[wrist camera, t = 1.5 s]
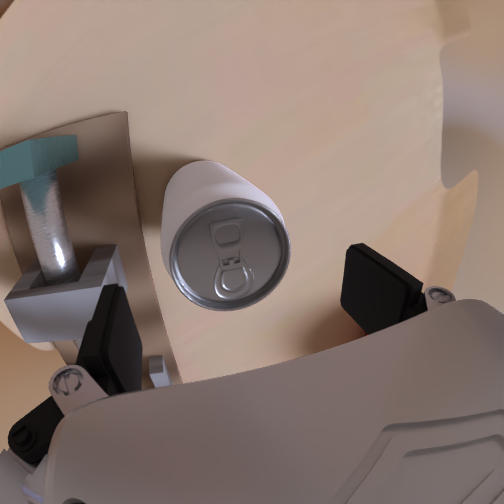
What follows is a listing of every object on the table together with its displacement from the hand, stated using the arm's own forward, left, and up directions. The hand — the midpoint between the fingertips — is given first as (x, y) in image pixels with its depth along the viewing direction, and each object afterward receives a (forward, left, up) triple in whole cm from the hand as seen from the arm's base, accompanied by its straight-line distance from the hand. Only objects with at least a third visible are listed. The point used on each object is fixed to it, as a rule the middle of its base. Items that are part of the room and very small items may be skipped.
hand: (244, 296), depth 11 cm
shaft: (+1, -12, -12) cm, 17 cm away
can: (-1, 0, -14) cm, 14 cm away
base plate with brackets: (+9, -12, -14) cm, 21 cm away
